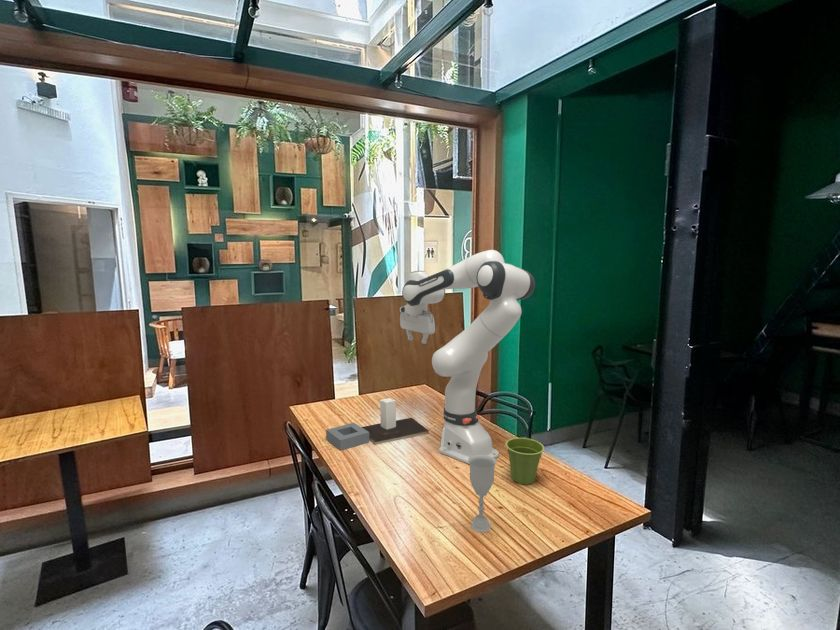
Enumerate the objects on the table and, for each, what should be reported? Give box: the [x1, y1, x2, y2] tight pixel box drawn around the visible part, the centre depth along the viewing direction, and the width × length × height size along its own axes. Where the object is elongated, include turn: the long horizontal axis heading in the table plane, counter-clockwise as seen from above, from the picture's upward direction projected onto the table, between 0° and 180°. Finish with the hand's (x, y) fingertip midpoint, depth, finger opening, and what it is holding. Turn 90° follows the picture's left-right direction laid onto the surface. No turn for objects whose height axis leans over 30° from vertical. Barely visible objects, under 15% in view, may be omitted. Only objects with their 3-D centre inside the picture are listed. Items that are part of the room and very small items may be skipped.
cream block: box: [379, 397, 397, 430], centre depth 173 cm, size 4×4×11 cm
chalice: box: [468, 455, 497, 533], centre depth 111 cm, size 7×7×18 cm
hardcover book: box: [361, 417, 430, 446], centre depth 173 cm, size 16×23×2 cm
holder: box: [325, 422, 370, 451], centre depth 164 cm, size 12×12×4 cm
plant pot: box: [505, 437, 545, 485], centre depth 135 cm, size 12×12×11 cm
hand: (417, 341), depth 183 cm, fingers open, 8 cm apart
